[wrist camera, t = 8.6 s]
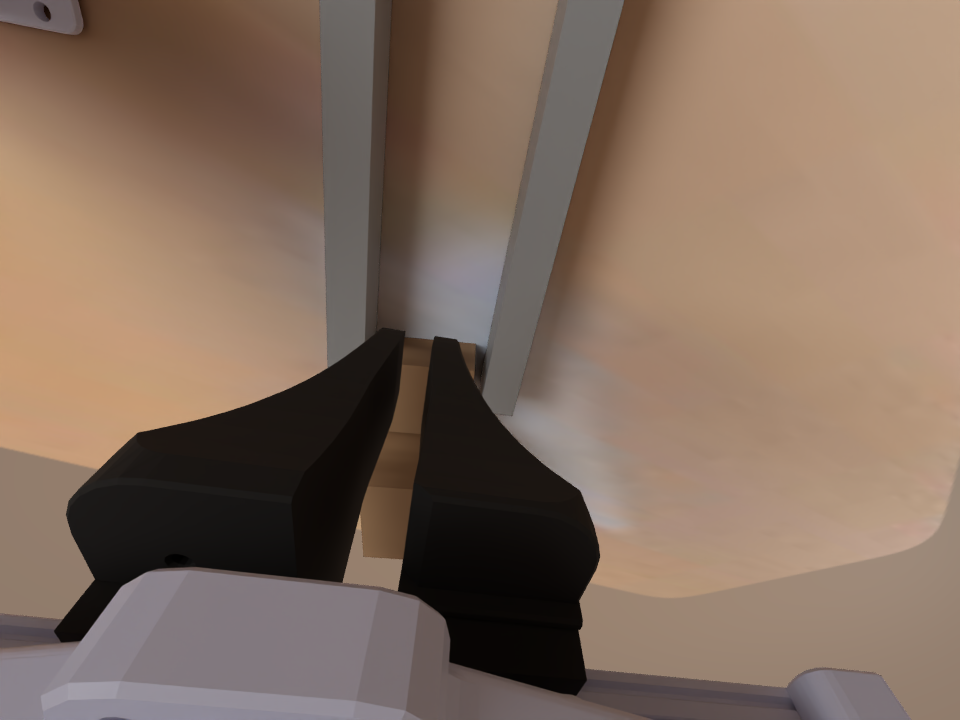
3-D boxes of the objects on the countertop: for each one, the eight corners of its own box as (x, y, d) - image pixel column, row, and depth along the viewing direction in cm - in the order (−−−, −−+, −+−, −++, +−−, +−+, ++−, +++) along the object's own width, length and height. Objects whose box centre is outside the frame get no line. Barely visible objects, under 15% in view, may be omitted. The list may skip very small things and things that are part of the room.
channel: (343, 361, 22) (328, 390, 20) (344, -753, 8) (296, -1044, 6) (509, 385, 23) (512, 416, 20) (760, -605, 9) (845, -820, 7)
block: (387, 465, 26) (363, 556, 21) (384, 335, 21) (353, 411, 16) (461, 471, 26) (455, 563, 21) (475, 343, 21) (473, 421, 16)
